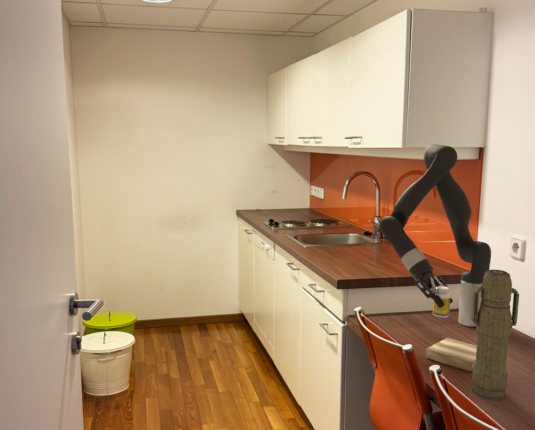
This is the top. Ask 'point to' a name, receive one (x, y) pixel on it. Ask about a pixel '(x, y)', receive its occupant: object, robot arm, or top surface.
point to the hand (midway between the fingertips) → (446, 304)
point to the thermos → (493, 333)
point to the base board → (453, 353)
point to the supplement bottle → (445, 298)
